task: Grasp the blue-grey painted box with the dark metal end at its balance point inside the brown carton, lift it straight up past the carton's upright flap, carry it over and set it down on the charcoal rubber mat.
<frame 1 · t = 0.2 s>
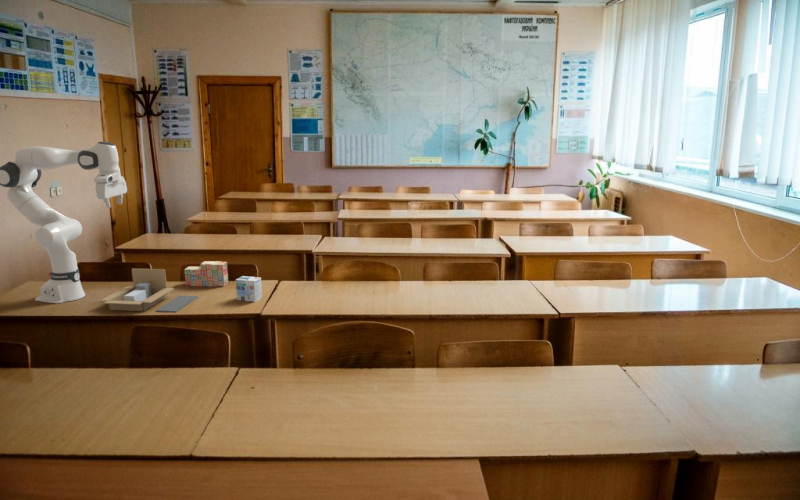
hand: (114, 205, 283), 47 cm above the table, fingers open, 8 cm apart
stack of blocks: (207, 285, 317), on the table
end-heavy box: (138, 295, 288), in the carton
mat: (177, 304, 287), on the table
carton: (139, 302, 289), on the table
light bulb box: (249, 299, 293), on the table
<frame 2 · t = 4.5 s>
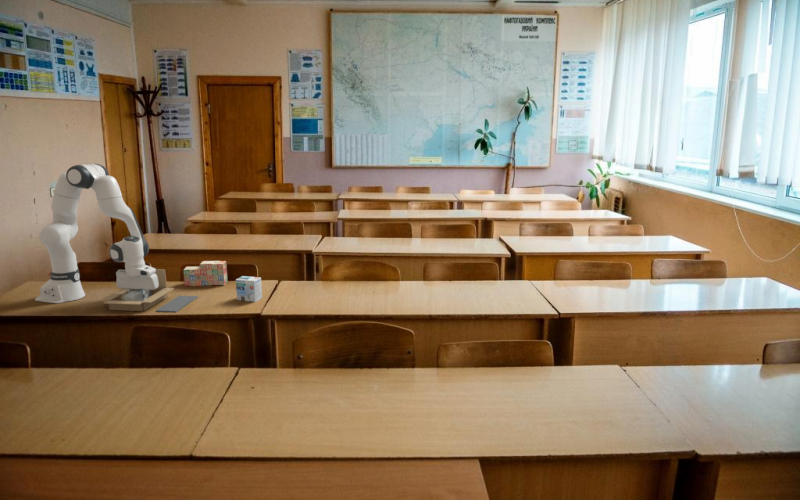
hand: (139, 297, 289), 3 cm above the table, fingers closed on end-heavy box, 5 cm apart
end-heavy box: (138, 295, 288), in the carton, touching gripper
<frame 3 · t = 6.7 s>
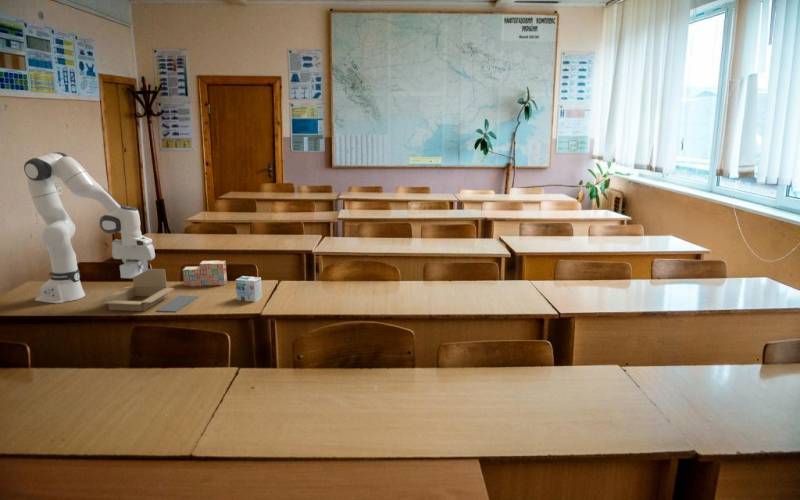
hand: (134, 268, 286), 17 cm above the table, fingers closed on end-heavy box, 5 cm apart
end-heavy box: (134, 265, 285), point 19 cm above the table, touching gripper
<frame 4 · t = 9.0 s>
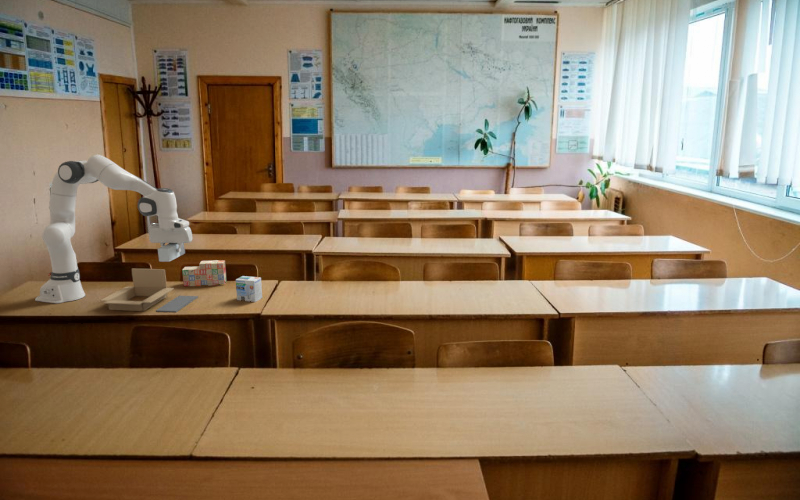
hand: (172, 251, 281), 26 cm above the table, fingers closed on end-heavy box, 5 cm apart
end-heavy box: (171, 249, 280), point 27 cm above the table, touching gripper
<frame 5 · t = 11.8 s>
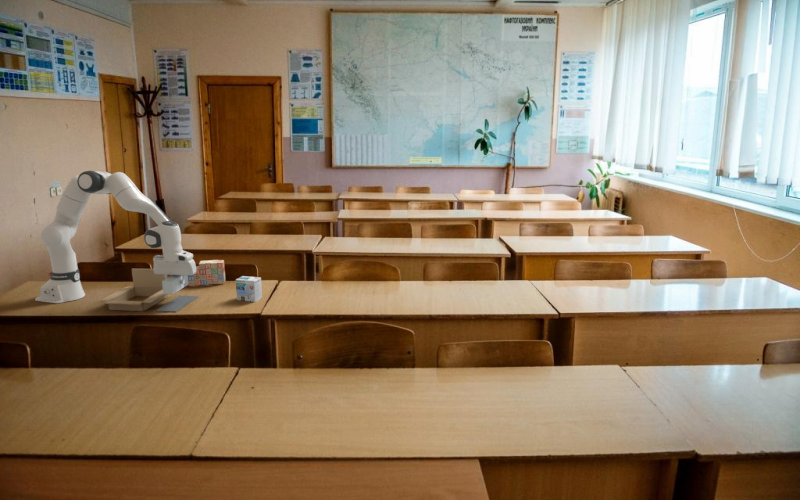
hand: (176, 283, 285), 10 cm above the table, fingers closed on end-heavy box, 5 cm apart
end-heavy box: (175, 280, 284), point 12 cm above the table, touching gripper
when the fingers open (5 cm above the table, at t = 13.9 s): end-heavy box drops 2 cm, resting on mat.
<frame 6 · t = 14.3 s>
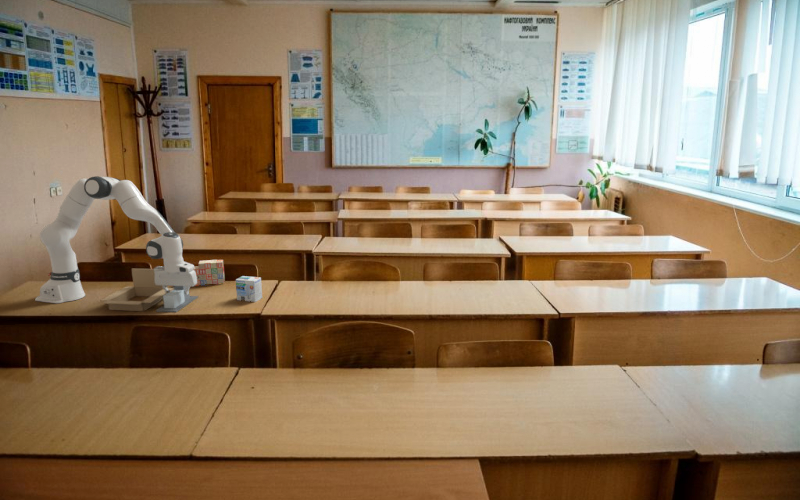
hand: (177, 294, 286), 5 cm above the table, fingers open, 8 cm apart
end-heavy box: (176, 295, 285), on the mat, point 5 cm above the table
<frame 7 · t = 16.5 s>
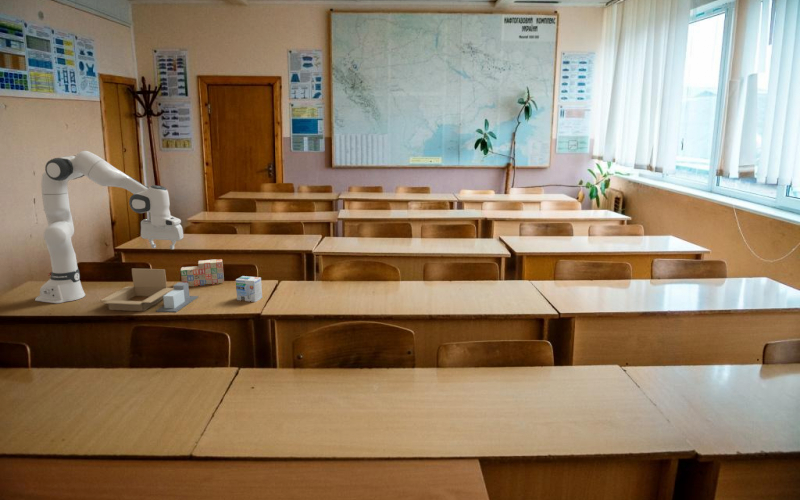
hand: (163, 248, 285), 27 cm above the table, fingers open, 8 cm apart
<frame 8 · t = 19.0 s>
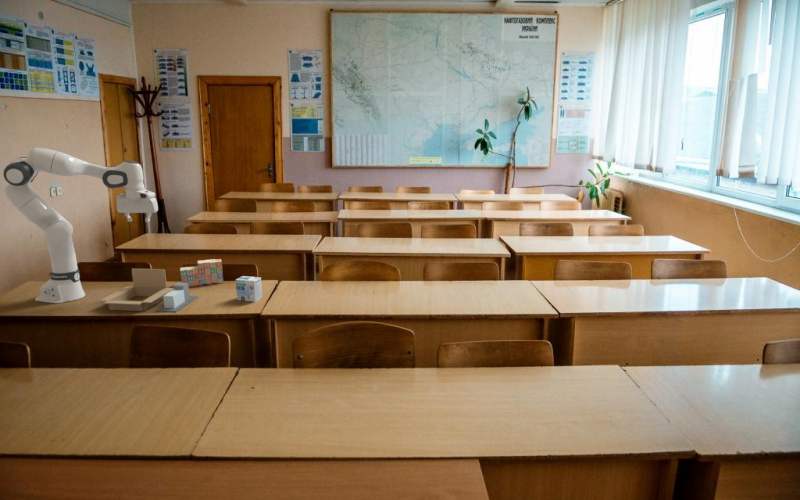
hand: (139, 221, 296), 37 cm above the table, fingers open, 8 cm apart
at the end: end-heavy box inside the target area on the mat (0.1 cm from its centre), point 4.6 cm above the mat's base; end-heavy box tilted 0°; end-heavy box touching mat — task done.
